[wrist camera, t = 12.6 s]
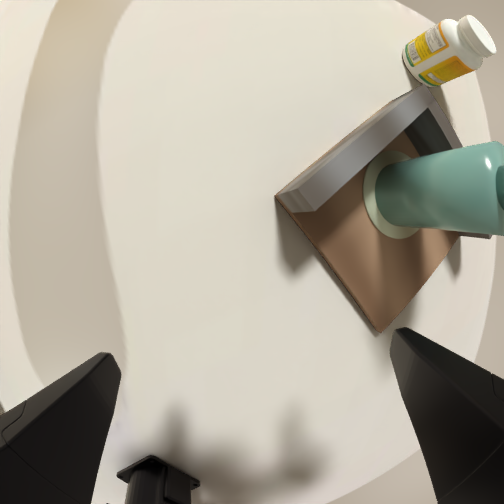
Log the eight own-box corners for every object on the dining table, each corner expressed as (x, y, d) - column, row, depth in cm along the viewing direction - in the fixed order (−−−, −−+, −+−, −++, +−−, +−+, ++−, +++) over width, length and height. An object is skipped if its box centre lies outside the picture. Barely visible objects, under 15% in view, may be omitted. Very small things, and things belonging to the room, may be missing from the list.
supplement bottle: (392, 52, 19) (454, 9, 10) (414, 40, 19) (469, 5, 10) (425, 96, 20) (495, 67, 11) (443, 79, 20) (504, 53, 11)
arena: (375, 329, 21) (409, 351, 17) (274, 196, 19) (297, 188, 14) (460, 225, 22) (495, 228, 17) (389, 101, 19) (424, 83, 15)
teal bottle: (396, 239, 20) (553, 265, 6) (363, 187, 19) (534, 166, 5) (428, 201, 20) (567, 202, 7) (399, 151, 19) (545, 117, 6)
